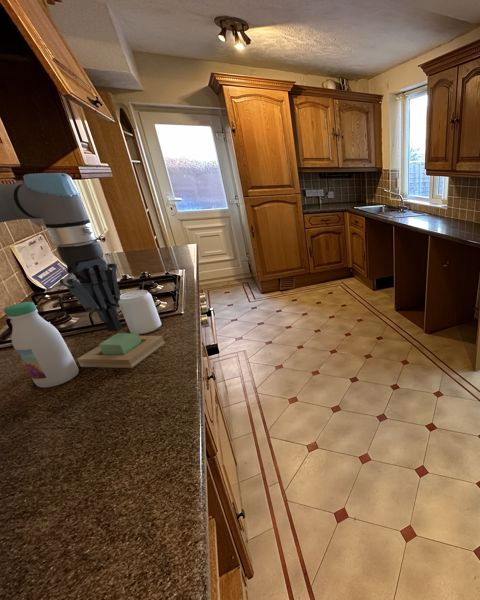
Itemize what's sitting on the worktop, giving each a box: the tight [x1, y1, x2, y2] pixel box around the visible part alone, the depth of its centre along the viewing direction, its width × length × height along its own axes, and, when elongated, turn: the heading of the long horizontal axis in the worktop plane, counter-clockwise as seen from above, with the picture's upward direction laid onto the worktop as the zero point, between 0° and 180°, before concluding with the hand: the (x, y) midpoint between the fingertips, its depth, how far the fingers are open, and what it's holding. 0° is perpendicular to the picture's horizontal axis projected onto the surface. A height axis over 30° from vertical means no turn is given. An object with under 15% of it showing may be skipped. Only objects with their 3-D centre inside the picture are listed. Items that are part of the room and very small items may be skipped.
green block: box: [98, 332, 142, 355], centre depth 88 cm, size 6×6×4 cm
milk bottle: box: [3, 301, 80, 389], centre depth 75 cm, size 8×8×20 cm
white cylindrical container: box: [117, 289, 162, 335], centre depth 99 cm, size 8×8×12 cm
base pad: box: [76, 335, 166, 369], centre depth 88 cm, size 14×12×2 cm
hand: (115, 329), depth 86 cm, fingers closed
